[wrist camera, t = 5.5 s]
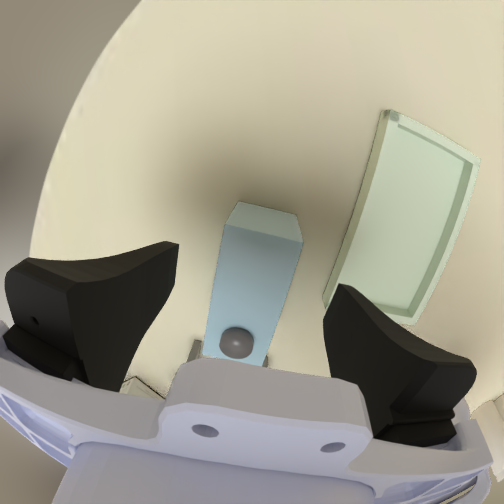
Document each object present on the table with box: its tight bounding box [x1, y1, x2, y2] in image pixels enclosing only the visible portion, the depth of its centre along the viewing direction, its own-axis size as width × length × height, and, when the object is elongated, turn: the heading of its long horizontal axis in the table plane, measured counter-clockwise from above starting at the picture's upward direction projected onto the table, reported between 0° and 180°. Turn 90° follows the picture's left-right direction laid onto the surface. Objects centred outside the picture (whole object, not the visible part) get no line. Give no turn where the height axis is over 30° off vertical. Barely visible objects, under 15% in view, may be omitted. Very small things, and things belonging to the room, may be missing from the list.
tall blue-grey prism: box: [202, 201, 304, 367], centre depth 18 cm, size 4×9×6 cm, turn 168°
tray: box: [322, 110, 481, 326], centre depth 17 cm, size 8×14×2 cm, turn 167°
